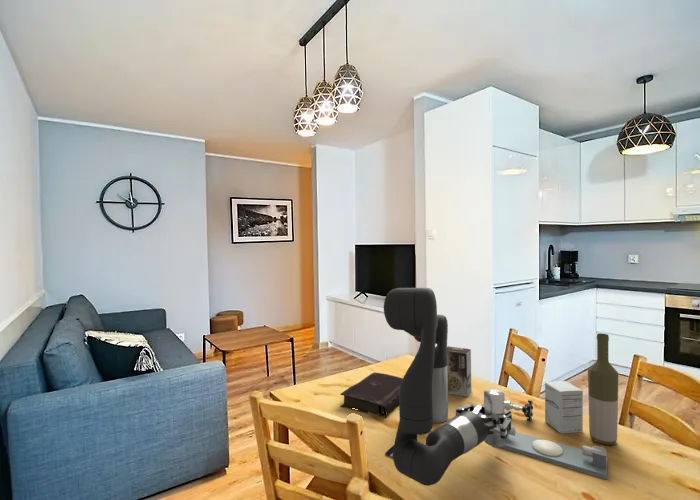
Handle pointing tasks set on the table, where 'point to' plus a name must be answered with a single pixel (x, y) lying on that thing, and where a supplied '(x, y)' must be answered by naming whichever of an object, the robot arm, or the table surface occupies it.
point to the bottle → (603, 395)
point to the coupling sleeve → (494, 405)
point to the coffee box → (459, 371)
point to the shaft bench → (559, 453)
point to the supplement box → (564, 407)
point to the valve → (521, 408)
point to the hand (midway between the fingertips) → (499, 410)
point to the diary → (374, 394)
